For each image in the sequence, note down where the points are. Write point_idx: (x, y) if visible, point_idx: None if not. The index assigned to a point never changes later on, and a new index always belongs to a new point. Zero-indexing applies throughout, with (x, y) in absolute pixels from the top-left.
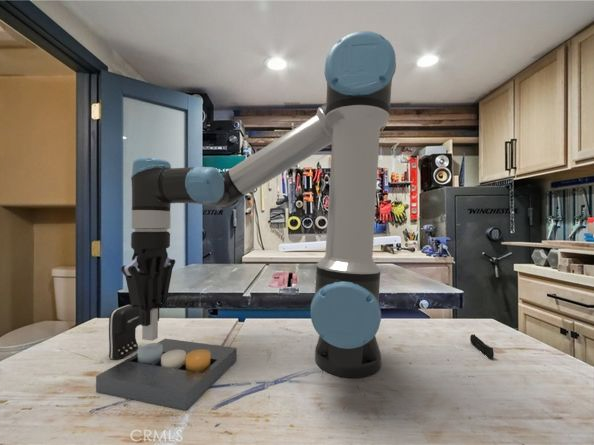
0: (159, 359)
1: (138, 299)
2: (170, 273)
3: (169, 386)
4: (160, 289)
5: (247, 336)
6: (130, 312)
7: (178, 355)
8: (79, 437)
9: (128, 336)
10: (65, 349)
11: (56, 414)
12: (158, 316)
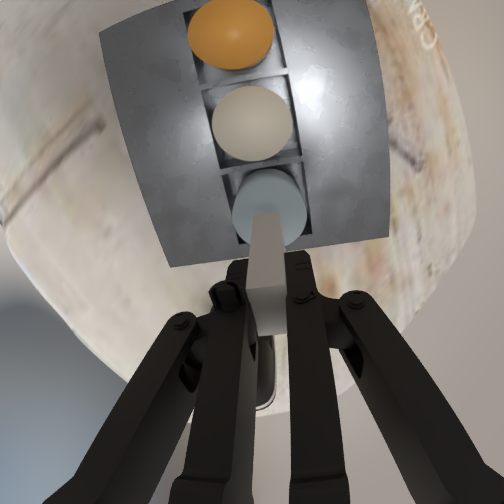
0: (263, 171)
1: (401, 342)
2: (94, 458)
3: (360, 26)
4: (208, 383)
5: (22, 134)
6: None
7: (247, 105)
8: (462, 123)
9: None
10: (281, 387)
11: (436, 215)
12: (232, 272)
